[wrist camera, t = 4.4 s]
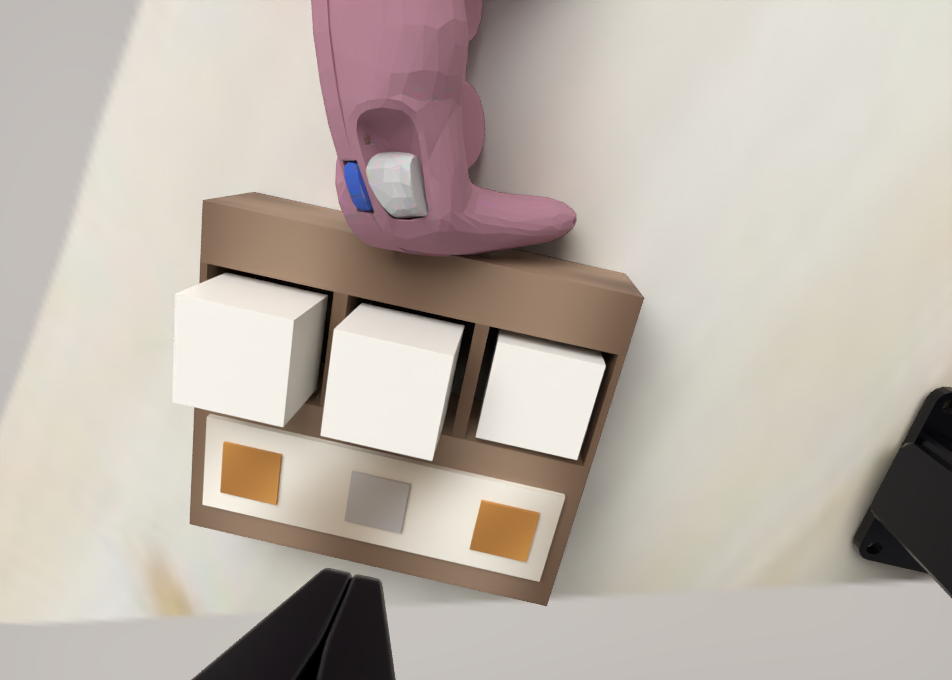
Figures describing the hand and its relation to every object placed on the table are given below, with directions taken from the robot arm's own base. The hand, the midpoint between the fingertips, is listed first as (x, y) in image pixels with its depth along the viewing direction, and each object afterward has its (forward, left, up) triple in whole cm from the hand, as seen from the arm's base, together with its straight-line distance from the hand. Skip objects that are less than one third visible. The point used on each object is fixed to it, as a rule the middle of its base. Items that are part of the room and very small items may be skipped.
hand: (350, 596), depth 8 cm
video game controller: (+1, -8, -12) cm, 14 cm away
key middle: (+1, 0, -9) cm, 9 cm away
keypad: (+1, +2, -11) cm, 12 cm away
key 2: (-3, 0, -11) cm, 11 cm away
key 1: (+5, 0, -9) cm, 10 cm away
